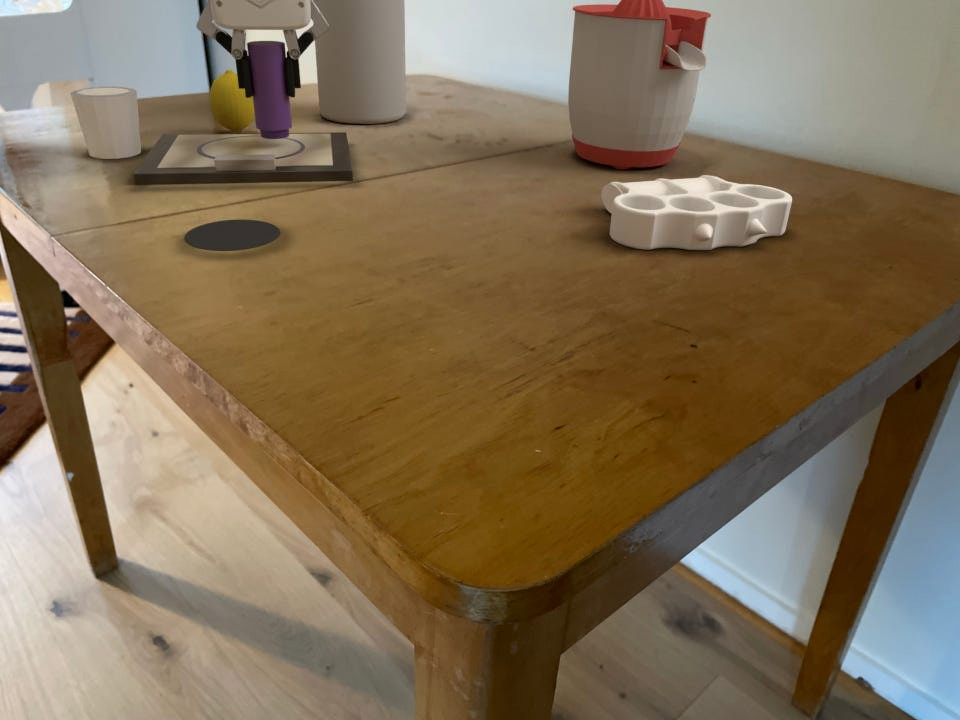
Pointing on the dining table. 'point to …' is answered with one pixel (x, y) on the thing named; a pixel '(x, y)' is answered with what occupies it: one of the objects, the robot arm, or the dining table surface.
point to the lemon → (231, 103)
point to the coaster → (232, 235)
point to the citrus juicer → (633, 80)
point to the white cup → (109, 121)
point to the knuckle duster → (694, 213)
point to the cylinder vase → (362, 61)
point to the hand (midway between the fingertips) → (270, 93)
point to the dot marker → (270, 88)
